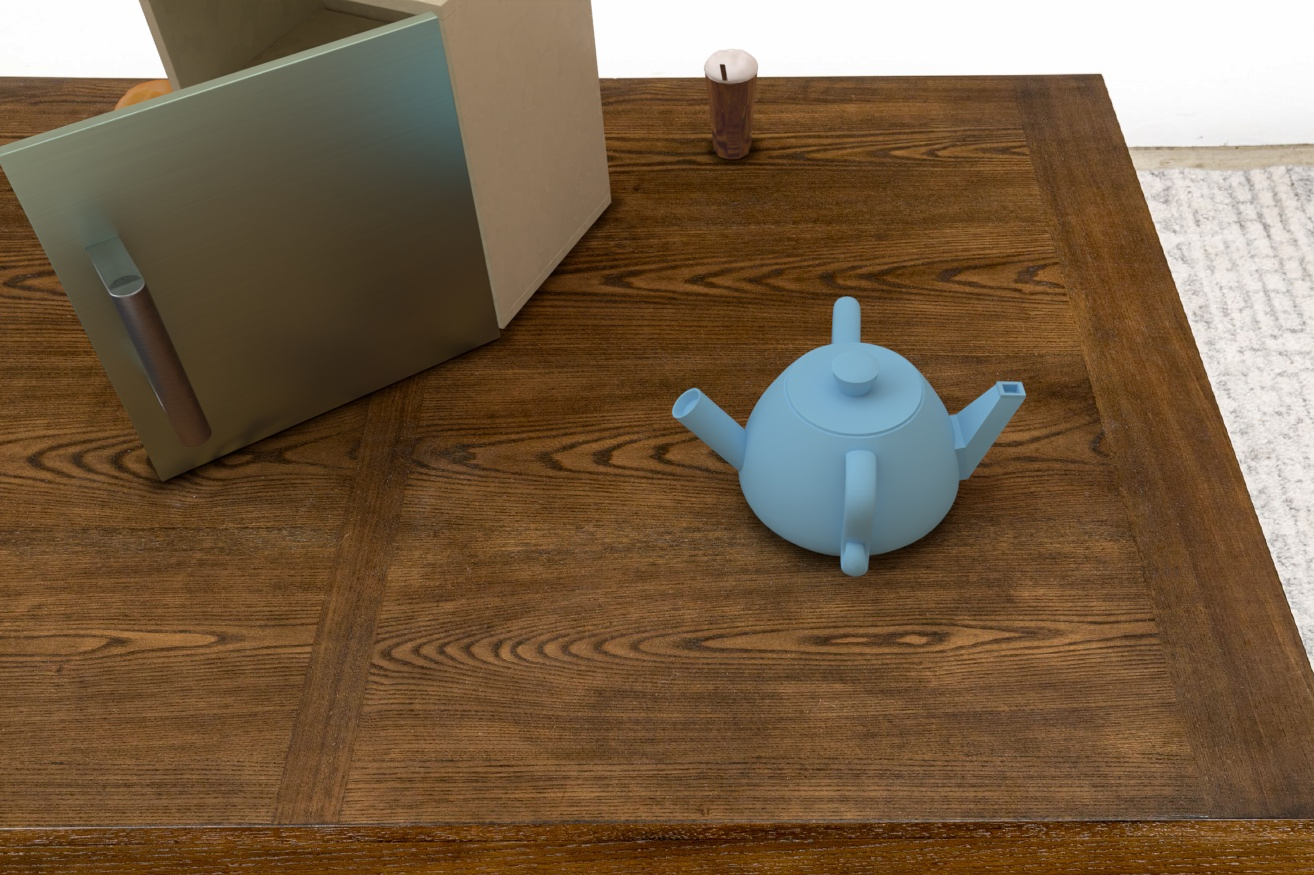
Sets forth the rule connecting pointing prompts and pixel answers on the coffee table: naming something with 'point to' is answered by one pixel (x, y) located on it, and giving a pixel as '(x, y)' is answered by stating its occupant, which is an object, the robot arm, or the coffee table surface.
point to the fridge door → (266, 239)
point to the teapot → (852, 446)
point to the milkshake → (731, 100)
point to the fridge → (486, 98)
